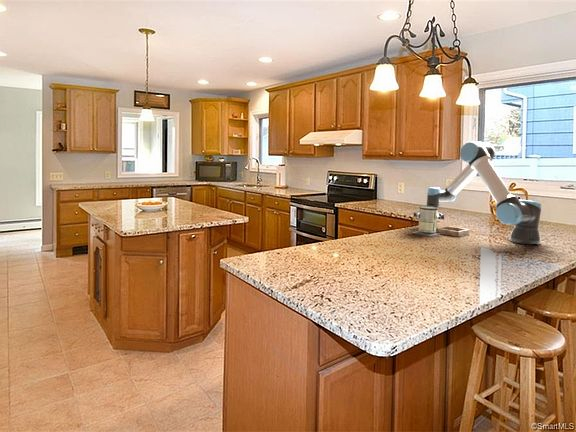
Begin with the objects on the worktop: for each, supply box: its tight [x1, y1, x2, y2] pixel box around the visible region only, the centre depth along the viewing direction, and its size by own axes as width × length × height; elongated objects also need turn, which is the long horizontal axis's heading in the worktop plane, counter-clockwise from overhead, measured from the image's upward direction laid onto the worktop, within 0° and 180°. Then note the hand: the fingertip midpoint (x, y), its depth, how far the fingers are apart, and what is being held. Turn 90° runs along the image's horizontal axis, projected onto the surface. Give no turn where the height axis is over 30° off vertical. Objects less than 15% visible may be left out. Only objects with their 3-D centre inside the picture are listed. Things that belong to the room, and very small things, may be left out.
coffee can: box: [417, 205, 439, 232], centre depth 245 cm, size 10×10×14 cm
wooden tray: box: [435, 225, 471, 238], centre depth 249 cm, size 14×14×3 cm
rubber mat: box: [412, 230, 442, 237], centre depth 246 cm, size 12×12×1 cm
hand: (427, 217), depth 241 cm, fingers closed on coffee can, 10 cm apart
